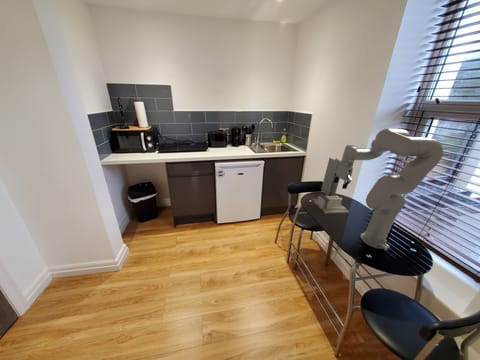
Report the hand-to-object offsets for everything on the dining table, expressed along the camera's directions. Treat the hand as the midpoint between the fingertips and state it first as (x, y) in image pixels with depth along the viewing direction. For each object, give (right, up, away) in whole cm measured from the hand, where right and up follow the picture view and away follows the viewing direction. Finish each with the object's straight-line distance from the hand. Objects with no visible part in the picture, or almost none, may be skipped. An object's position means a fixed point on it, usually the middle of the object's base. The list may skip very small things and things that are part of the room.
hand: (339, 185), depth 136 cm
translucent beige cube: (-1, -15, +6) cm, 16 cm away
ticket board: (-5, -16, +6) cm, 18 cm away
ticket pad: (-9, -15, +5) cm, 18 cm away
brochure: (+3, -8, +26) cm, 27 cm away
